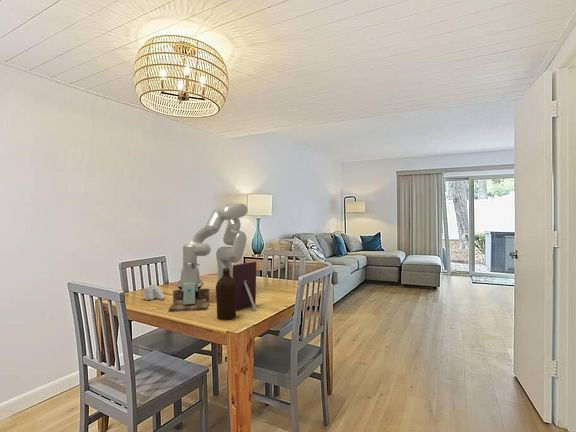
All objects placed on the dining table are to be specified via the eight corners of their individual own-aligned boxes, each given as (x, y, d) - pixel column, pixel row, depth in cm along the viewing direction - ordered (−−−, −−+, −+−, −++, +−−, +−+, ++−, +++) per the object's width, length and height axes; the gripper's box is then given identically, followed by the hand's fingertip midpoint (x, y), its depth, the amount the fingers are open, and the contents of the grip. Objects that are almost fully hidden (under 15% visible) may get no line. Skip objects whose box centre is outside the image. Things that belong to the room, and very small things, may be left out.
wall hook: (161, 300, 192) (157, 284, 193) (146, 303, 194) (142, 287, 195) (169, 297, 200) (165, 281, 201) (154, 300, 202) (151, 284, 203)
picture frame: (254, 304, 185) (253, 261, 185) (266, 307, 179) (266, 262, 179) (231, 311, 173) (231, 264, 172) (244, 315, 166) (244, 266, 166)
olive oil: (239, 318, 160) (239, 268, 160) (218, 321, 156) (218, 270, 156) (234, 312, 170) (234, 265, 170) (214, 315, 166) (213, 267, 166)
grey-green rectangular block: (196, 300, 186) (196, 281, 186) (194, 304, 178) (194, 284, 178) (185, 300, 185) (185, 281, 185) (183, 304, 177) (183, 284, 177)
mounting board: (209, 303, 189) (209, 288, 189) (206, 310, 175) (206, 294, 175) (173, 304, 186) (173, 290, 186) (168, 311, 172) (168, 296, 172)
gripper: (206, 264, 187) (206, 295, 187) (175, 265, 184) (175, 296, 184) (204, 266, 180) (205, 298, 180) (172, 267, 177) (172, 300, 177)
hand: (190, 297), depth 182 cm, fingers closed on grey-green rectangular block, 5 cm apart
